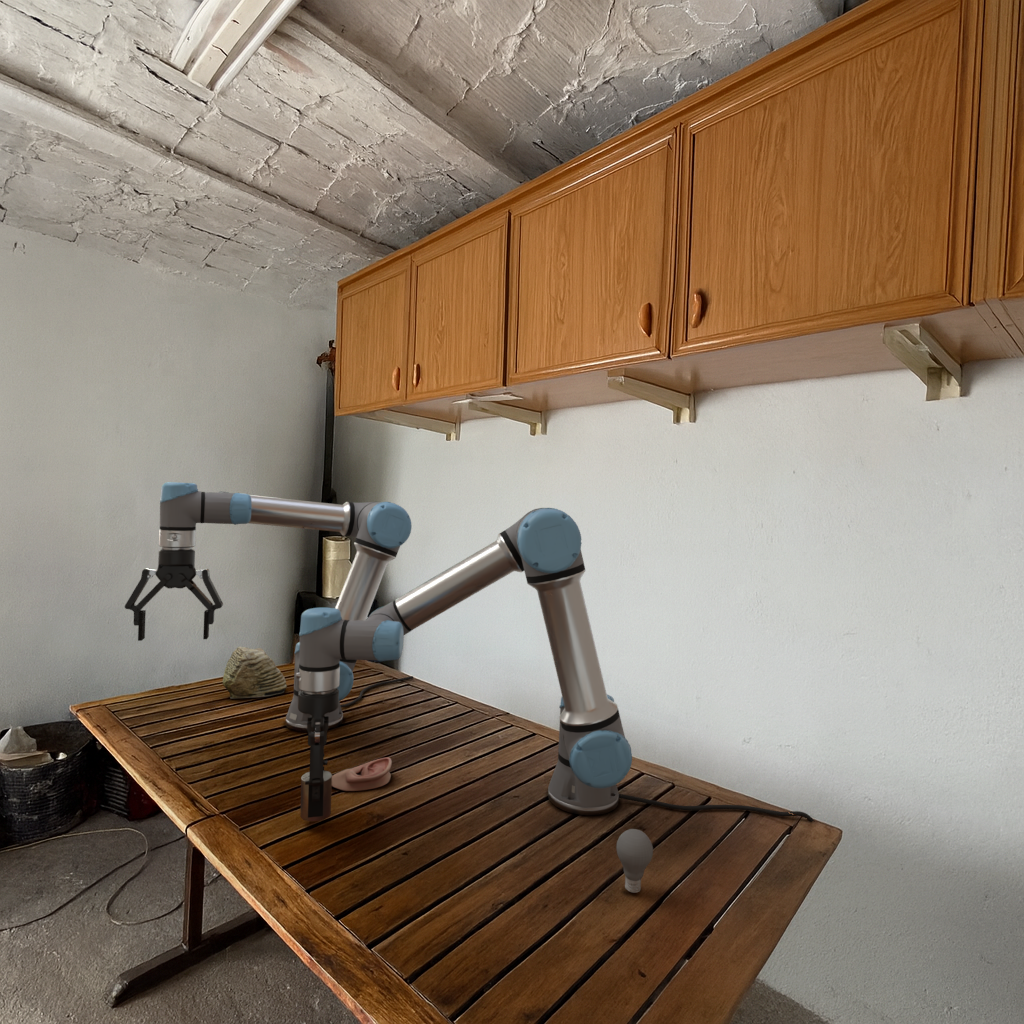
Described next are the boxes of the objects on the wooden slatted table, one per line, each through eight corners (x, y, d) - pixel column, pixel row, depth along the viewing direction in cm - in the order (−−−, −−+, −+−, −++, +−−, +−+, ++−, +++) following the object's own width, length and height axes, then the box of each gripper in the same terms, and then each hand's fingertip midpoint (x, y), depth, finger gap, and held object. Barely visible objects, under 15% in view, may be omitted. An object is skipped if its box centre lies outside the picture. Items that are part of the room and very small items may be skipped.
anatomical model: (320, 769, 137) (344, 749, 149) (319, 787, 138) (343, 766, 149) (377, 777, 135) (397, 756, 146) (376, 795, 135) (397, 773, 146)
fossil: (218, 695, 195) (220, 647, 195) (278, 685, 208) (279, 640, 207) (228, 703, 189) (230, 653, 188) (289, 692, 201) (290, 645, 201)
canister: (319, 823, 119) (320, 784, 119) (294, 818, 121) (295, 779, 121) (336, 810, 125) (337, 772, 124) (312, 805, 126) (313, 768, 126)
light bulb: (610, 879, 108) (613, 822, 108) (644, 879, 109) (647, 822, 109) (619, 902, 102) (622, 840, 102) (655, 901, 103) (658, 840, 103)
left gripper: (111, 548, 141) (108, 643, 141) (233, 550, 148) (229, 641, 148) (121, 545, 148) (118, 636, 148) (236, 547, 155) (233, 634, 155)
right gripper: (300, 676, 130) (298, 788, 131) (295, 705, 112) (292, 835, 113) (338, 674, 132) (335, 784, 133) (339, 703, 114) (336, 830, 115)
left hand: (174, 638), depth 148 cm, fingers open, 13 cm apart
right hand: (315, 807), depth 123 cm, fingers closed on canister, 6 cm apart
